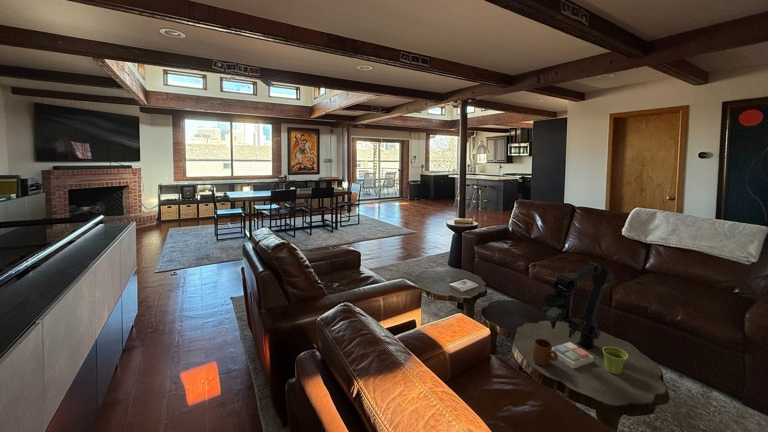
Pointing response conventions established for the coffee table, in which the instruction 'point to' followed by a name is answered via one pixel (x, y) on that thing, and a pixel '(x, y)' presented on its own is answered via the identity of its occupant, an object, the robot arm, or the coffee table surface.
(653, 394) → the coffee table surface
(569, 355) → the key sage
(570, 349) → the key cream
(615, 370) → the plant pot
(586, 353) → the key coral
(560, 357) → the keypad
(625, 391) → the coffee table surface
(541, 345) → the mug
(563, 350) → the key slate
